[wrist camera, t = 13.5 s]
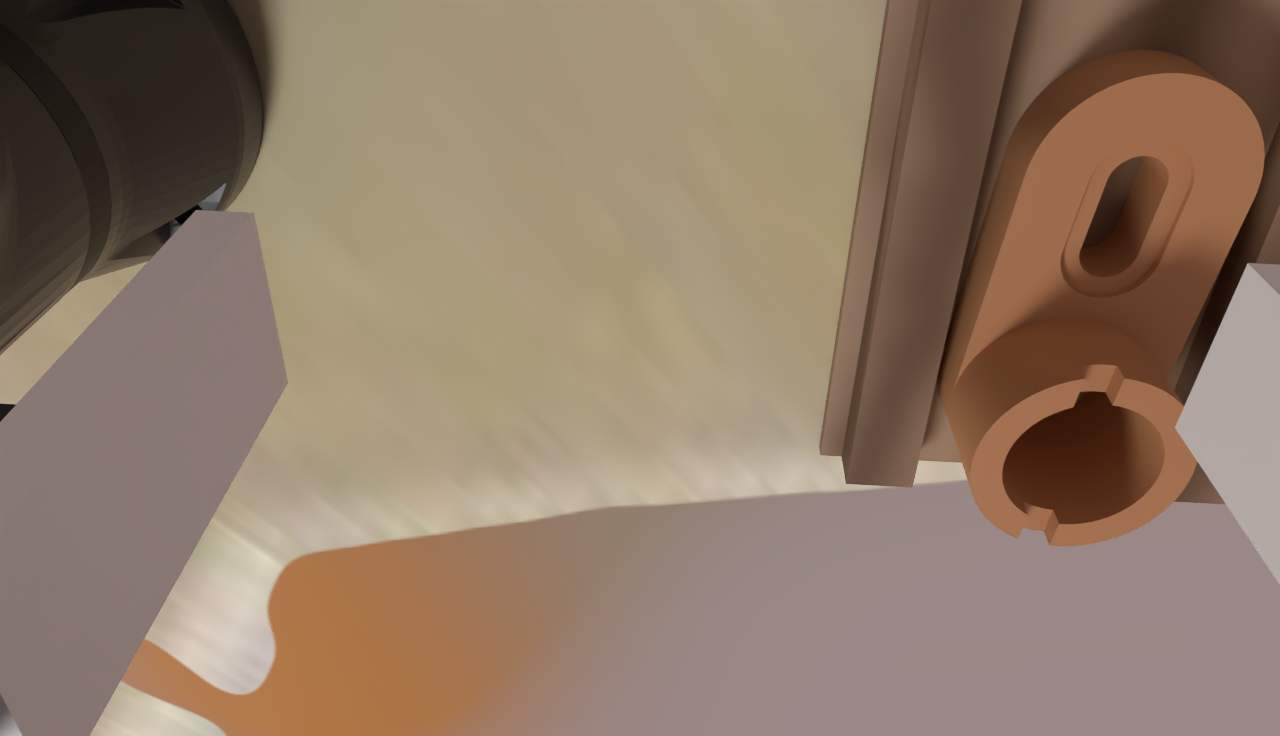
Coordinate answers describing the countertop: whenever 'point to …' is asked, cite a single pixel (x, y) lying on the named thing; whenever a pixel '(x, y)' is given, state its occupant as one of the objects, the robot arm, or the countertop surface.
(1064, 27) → the cradle
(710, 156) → the countertop surface
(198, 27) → the robot arm
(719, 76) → the countertop surface
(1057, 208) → the bracket
